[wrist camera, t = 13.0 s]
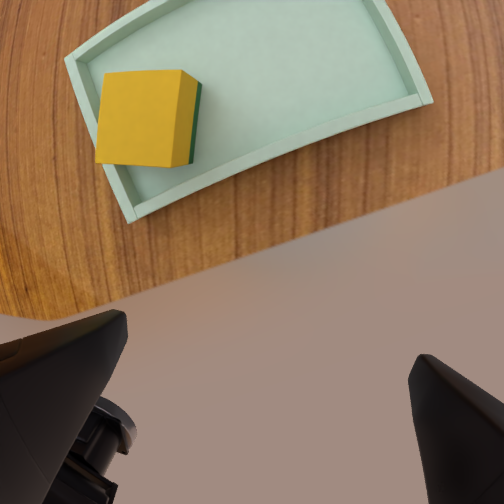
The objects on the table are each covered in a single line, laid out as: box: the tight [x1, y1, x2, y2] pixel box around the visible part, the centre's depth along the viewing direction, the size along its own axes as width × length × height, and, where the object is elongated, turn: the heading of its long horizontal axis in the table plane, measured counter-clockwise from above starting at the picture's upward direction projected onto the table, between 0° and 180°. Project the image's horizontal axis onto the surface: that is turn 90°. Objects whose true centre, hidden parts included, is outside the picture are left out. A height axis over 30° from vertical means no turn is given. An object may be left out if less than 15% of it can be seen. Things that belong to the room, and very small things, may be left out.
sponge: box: [95, 70, 202, 168], centre depth 16 cm, size 5×4×4 cm
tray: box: [64, 0, 434, 224], centre depth 16 cm, size 20×13×2 cm, turn 113°
